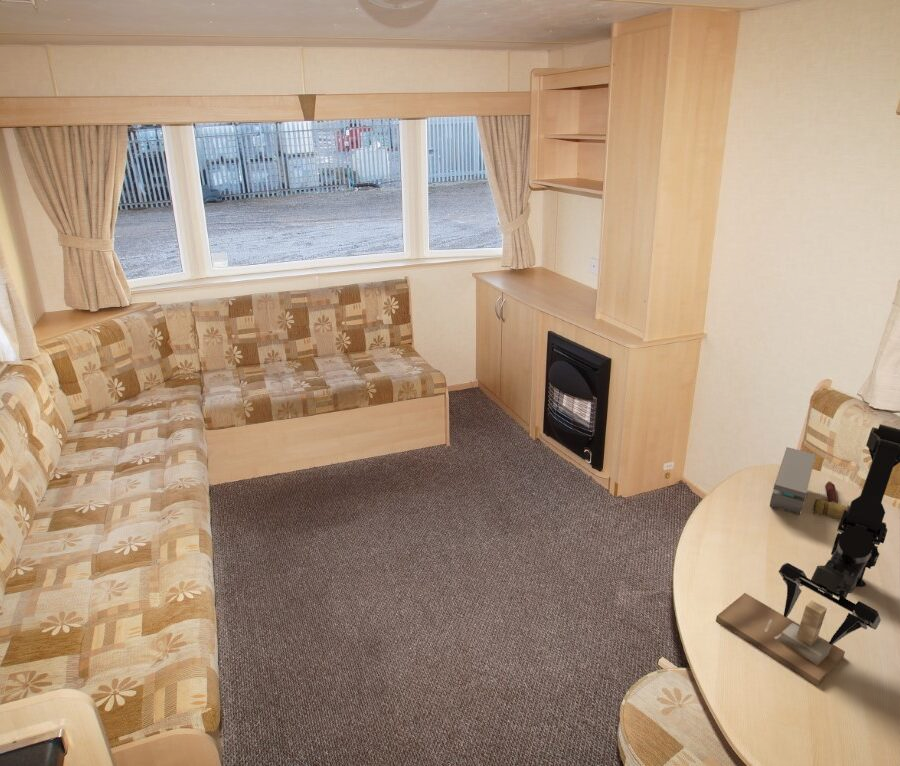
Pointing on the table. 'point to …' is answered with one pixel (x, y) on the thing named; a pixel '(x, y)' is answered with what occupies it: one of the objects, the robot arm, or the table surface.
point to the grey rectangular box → (792, 481)
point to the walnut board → (774, 636)
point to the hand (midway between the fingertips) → (806, 630)
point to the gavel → (829, 504)
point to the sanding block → (808, 634)
